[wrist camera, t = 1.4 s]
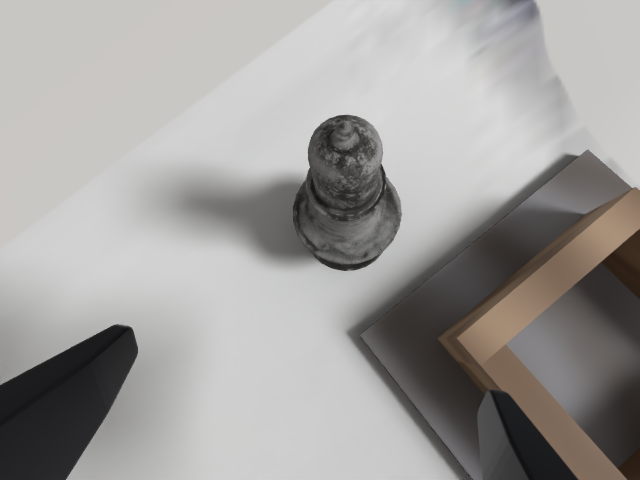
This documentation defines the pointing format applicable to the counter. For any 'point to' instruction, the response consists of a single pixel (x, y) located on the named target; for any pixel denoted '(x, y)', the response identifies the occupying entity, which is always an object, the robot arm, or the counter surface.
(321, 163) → the grey stone pawn figure
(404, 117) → the counter surface
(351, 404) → the counter surface
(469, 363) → the end holder
